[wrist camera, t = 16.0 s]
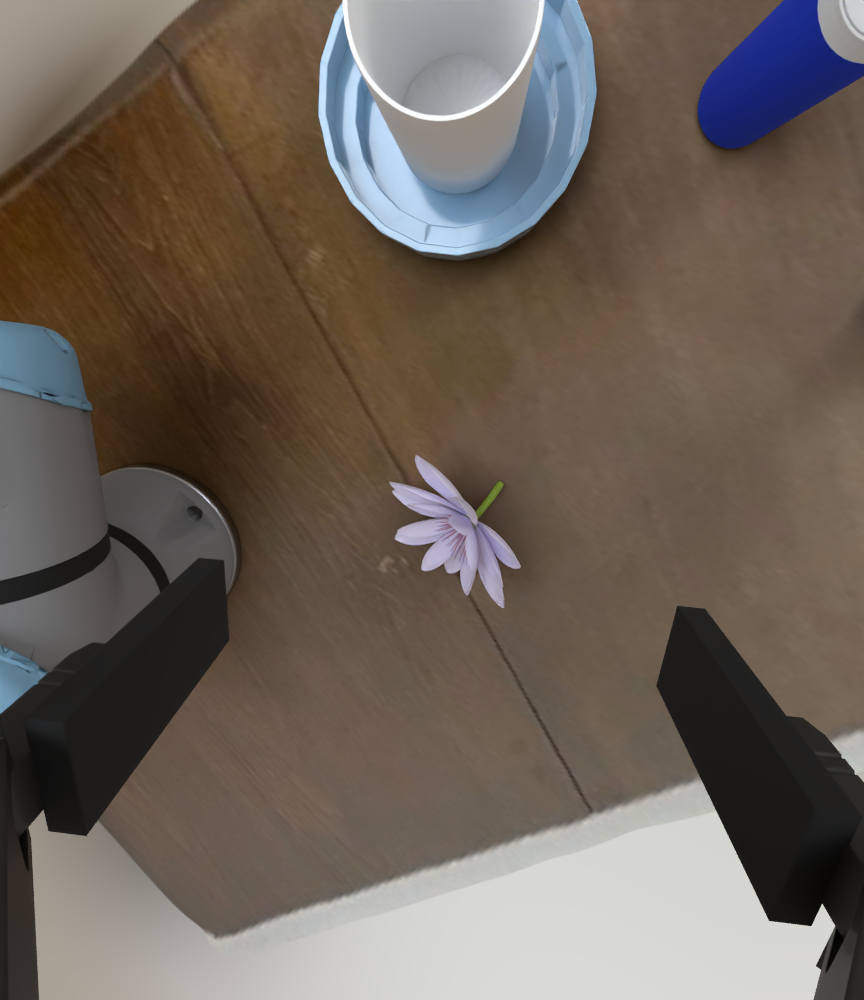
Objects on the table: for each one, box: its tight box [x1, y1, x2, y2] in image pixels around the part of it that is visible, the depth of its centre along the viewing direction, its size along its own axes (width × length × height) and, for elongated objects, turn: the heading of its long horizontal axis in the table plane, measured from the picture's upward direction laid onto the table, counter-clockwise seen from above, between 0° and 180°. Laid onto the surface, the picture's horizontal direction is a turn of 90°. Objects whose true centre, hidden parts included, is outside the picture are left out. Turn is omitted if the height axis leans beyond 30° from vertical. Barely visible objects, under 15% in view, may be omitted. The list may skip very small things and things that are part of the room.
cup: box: [343, 0, 545, 194], centre depth 29 cm, size 8×8×16 cm
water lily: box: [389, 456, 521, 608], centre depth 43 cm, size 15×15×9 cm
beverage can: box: [698, 0, 864, 148], centre depth 29 cm, size 5×5×15 cm
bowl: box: [318, 0, 597, 261], centre depth 35 cm, size 17×17×5 cm
